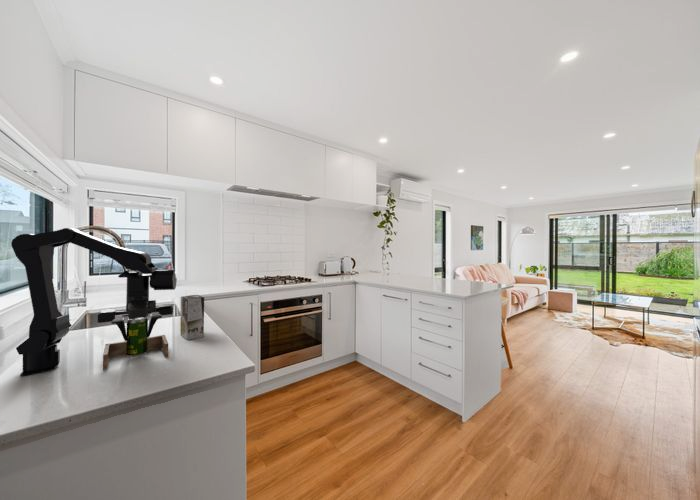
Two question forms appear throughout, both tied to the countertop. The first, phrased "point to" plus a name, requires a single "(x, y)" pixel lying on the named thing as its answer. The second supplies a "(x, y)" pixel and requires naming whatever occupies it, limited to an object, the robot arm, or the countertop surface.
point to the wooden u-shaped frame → (120, 348)
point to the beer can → (137, 337)
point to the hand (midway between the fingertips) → (137, 338)
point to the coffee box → (192, 316)
